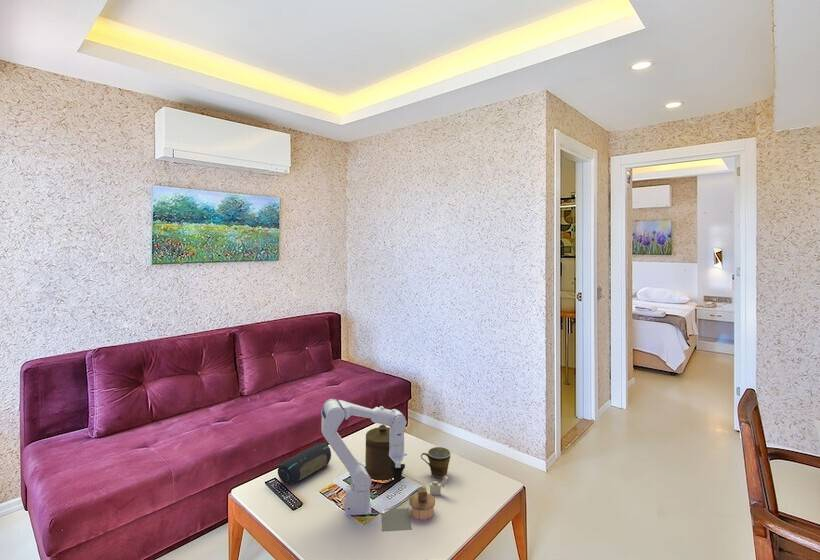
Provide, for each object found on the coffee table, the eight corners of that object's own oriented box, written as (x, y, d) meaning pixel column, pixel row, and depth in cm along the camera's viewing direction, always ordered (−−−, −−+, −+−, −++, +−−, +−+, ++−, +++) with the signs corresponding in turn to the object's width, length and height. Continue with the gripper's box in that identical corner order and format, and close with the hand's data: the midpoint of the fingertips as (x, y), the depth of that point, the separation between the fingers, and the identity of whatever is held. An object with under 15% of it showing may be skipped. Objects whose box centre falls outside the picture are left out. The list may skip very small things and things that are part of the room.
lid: (410, 511, 151) (410, 498, 150) (408, 495, 160) (408, 483, 160) (437, 509, 151) (437, 496, 151) (433, 493, 161) (433, 481, 161)
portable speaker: (291, 491, 170) (290, 467, 169) (275, 483, 176) (274, 460, 175) (335, 465, 191) (335, 443, 190) (320, 458, 196) (319, 437, 195)
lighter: (429, 495, 168) (430, 476, 167) (430, 492, 169) (430, 473, 169) (447, 496, 166) (447, 477, 166) (447, 494, 168) (448, 475, 167)
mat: (382, 532, 146) (382, 531, 146) (381, 510, 158) (381, 509, 158) (411, 530, 147) (411, 529, 147) (408, 509, 159) (408, 508, 159)
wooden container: (388, 462, 193) (388, 415, 191) (406, 477, 181) (406, 427, 179) (359, 471, 185) (359, 423, 183) (375, 488, 172) (375, 436, 171)
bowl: (412, 521, 152) (412, 509, 151) (410, 507, 160) (410, 496, 159) (434, 520, 153) (434, 508, 152) (431, 506, 161) (431, 495, 160)
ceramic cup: (450, 469, 187) (450, 447, 186) (450, 481, 177) (450, 458, 176) (421, 467, 188) (421, 446, 188) (419, 479, 178) (419, 457, 178)
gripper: (408, 450, 155) (408, 485, 157) (405, 433, 170) (405, 465, 171) (389, 451, 155) (389, 486, 156) (388, 434, 169) (388, 466, 170)
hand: (396, 475), depth 163 cm, fingers open, 7 cm apart
